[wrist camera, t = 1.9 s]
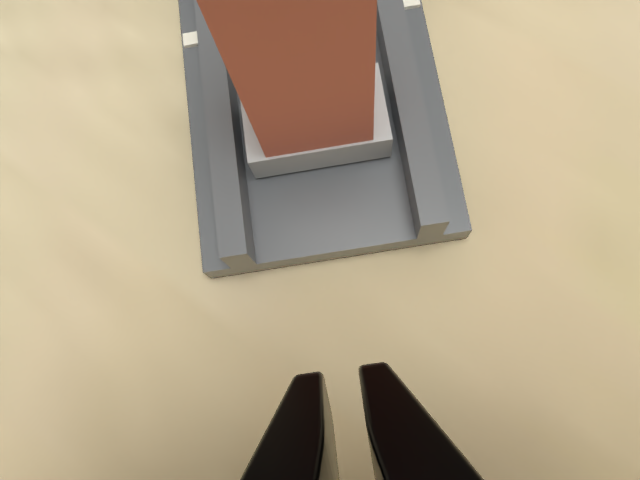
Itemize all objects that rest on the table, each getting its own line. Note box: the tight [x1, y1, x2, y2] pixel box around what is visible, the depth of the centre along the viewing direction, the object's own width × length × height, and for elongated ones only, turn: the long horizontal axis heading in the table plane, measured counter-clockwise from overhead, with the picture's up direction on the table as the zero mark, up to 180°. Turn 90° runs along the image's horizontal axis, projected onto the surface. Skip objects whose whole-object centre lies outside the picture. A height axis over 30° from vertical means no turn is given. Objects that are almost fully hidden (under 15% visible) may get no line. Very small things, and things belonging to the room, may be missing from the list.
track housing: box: [178, 0, 472, 278], centre depth 23 cm, size 15×10×4 cm
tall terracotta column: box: [196, 0, 393, 179], centre depth 16 cm, size 3×5×13 cm, turn 98°
